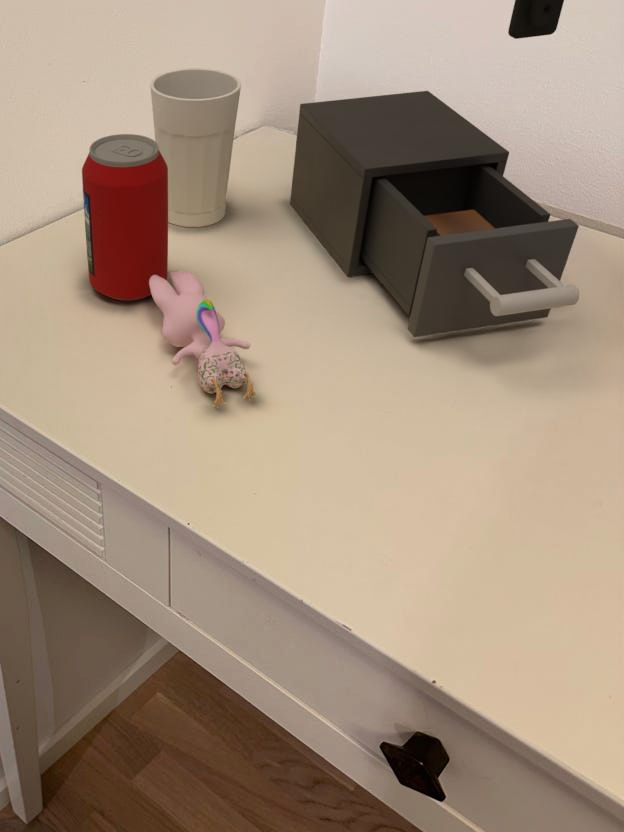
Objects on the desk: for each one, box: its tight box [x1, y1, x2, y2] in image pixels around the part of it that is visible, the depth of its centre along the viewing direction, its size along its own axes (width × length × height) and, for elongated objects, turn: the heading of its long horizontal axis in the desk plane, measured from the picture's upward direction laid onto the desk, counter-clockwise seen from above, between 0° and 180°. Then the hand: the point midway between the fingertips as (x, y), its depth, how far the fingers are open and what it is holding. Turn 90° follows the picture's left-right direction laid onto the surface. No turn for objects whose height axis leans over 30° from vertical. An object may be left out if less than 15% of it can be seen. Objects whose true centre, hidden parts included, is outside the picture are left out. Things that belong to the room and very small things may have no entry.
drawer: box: [359, 164, 580, 338], centre depth 69 cm, size 19×11×8 cm, turn 13°
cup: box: [149, 67, 242, 228], centre depth 82 cm, size 8×8×12 cm
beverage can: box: [81, 133, 169, 302], centre depth 72 cm, size 7×7×12 cm
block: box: [424, 210, 495, 236], centre depth 71 cm, size 5×5×5 cm
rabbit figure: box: [149, 270, 257, 410], centre depth 67 cm, size 6×6×15 cm
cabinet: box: [289, 90, 510, 277], centre depth 79 cm, size 15×13×10 cm
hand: (492, 14), depth 62 cm, fingers open, 9 cm apart
